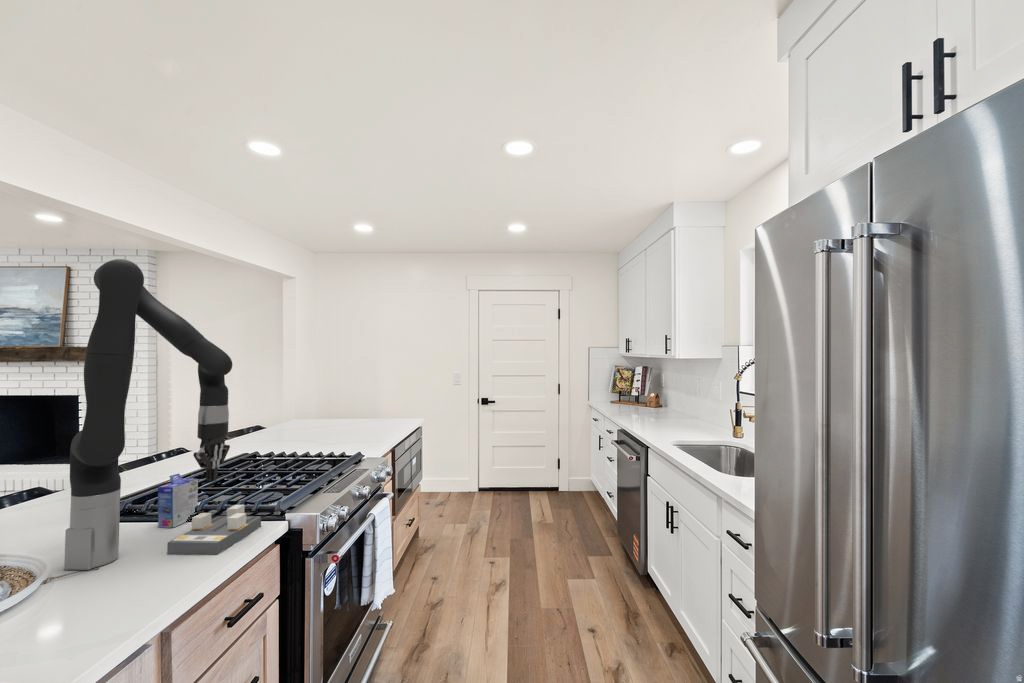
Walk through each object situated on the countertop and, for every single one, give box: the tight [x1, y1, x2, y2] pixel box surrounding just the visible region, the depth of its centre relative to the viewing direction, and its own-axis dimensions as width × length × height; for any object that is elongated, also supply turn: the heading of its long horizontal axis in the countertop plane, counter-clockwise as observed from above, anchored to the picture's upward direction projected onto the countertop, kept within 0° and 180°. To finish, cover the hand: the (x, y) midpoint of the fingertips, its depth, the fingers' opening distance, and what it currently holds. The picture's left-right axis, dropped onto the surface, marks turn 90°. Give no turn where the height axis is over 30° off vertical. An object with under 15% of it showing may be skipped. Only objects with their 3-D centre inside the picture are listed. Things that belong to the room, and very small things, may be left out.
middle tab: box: [226, 504, 245, 519], centre depth 137 cm, size 4×3×3 cm
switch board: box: [166, 515, 262, 556], centre depth 129 cm, size 20×14×3 cm
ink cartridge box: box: [157, 473, 199, 529], centre depth 143 cm, size 10×6×14 cm, turn 174°
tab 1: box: [191, 512, 212, 529], centre depth 130 cm, size 4×3×3 cm
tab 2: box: [227, 512, 247, 529], centre depth 130 cm, size 4×3×3 cm
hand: (211, 481), depth 134 cm, fingers closed
